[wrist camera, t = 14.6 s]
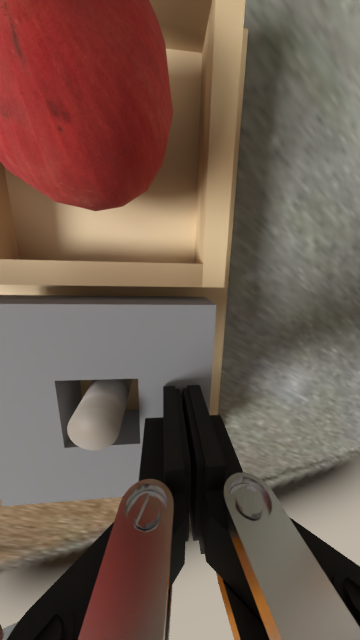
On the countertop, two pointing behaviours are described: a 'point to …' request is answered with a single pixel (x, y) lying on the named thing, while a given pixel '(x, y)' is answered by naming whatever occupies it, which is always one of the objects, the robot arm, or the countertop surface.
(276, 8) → the countertop surface
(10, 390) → the gray holed slab
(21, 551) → the countertop surface
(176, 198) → the wooden tray
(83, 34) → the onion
